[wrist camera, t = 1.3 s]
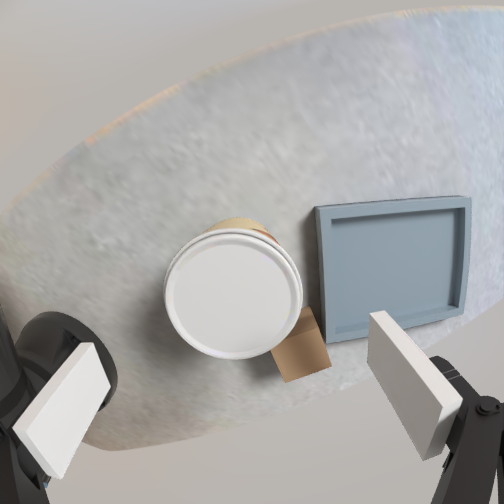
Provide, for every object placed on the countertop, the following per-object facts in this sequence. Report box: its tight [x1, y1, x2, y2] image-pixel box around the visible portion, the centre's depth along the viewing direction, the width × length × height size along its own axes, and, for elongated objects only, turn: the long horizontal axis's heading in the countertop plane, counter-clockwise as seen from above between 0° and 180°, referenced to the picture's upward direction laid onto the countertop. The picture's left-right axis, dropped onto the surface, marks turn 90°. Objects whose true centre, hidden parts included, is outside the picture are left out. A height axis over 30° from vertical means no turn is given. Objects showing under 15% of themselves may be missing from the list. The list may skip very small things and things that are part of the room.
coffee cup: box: [163, 217, 303, 360], centre depth 25 cm, size 9×9×12 cm
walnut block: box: [270, 306, 332, 383], centre depth 31 cm, size 5×5×5 cm
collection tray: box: [315, 196, 472, 344], centre depth 30 cm, size 18×14×2 cm
